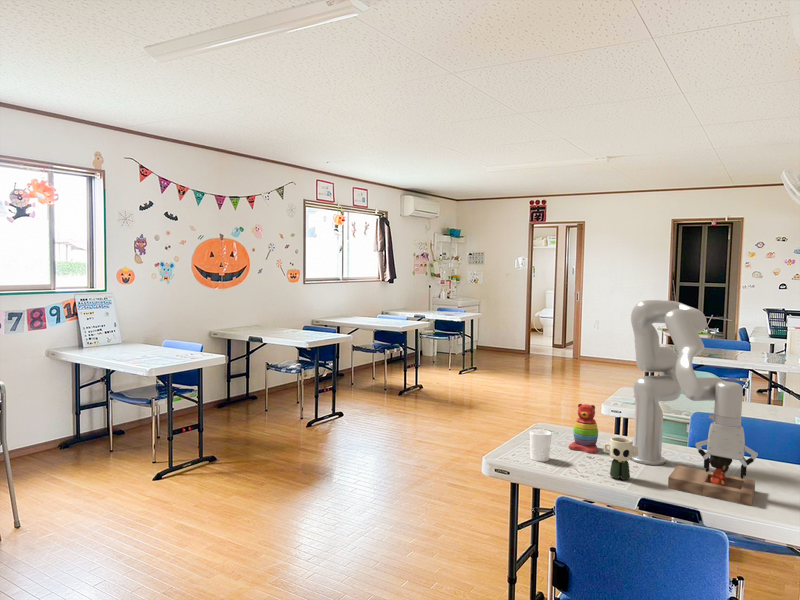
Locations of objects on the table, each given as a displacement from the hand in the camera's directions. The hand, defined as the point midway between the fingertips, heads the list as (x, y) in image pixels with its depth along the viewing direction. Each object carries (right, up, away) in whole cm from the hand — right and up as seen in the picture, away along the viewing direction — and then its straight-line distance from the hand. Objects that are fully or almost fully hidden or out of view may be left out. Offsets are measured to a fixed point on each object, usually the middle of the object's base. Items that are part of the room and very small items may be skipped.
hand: (724, 474), depth 181 cm
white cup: (-52, -3, +29) cm, 60 cm away
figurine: (-1, -6, +1) cm, 6 cm away
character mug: (-29, -5, +11) cm, 32 cm away
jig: (-3, -6, +2) cm, 7 cm away
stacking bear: (-30, -4, +44) cm, 54 cm away
